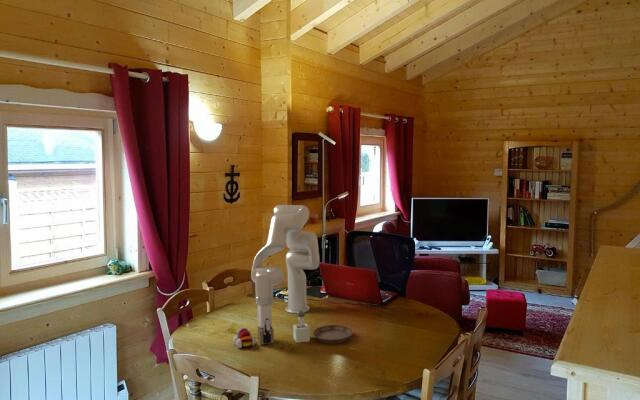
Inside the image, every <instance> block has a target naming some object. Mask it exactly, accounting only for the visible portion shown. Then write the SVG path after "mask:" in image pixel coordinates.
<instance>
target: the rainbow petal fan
mask: <svg viewBox="0 0 640 400" xmlns="http://www.w3.org/2000/svg"><path fill="white" fill-rule="evenodd" d="M232 343H233V344H234V345H235V346H236V348H238V349H242V347H250V346H251V345H252V346H251V347H253V346H255V345H256V343H257V340H256V337H254V336H253V335H252V334H251V332H250V331H249V329H247V328H246V327H243V328H241V329H239V330H238V331H237V334H235V336H233V338H232Z"/></svg>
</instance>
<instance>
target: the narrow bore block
mask: <svg viewBox="0 0 640 400" xmlns="http://www.w3.org/2000/svg"><path fill="white" fill-rule="evenodd" d="M264 327H266V326H264ZM265 330H266V328H265ZM270 332H271V342H270V343H264V342H263V334H264V329H263V328H260V326H259V325H258V326H257V340H258V343H259V345H268V344H274V342H275V335H274V334H275V333H274V332H275V331H274V328H273V325H272V326H271V327H270Z"/></svg>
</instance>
